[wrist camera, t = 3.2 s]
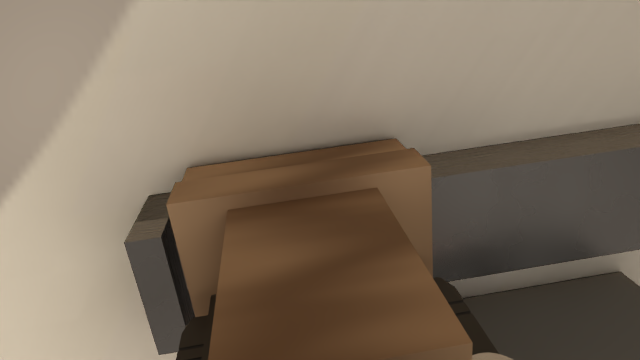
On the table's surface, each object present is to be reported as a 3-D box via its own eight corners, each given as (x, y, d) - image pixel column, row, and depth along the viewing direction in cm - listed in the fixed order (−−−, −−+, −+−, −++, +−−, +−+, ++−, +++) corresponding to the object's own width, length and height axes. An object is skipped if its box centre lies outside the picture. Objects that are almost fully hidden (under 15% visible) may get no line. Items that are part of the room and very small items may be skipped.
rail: (696, 115, 17) (786, 141, 14) (675, 211, 19) (753, 252, 16) (148, 195, 16) (124, 242, 13) (175, 293, 17) (159, 355, 14)
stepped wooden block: (395, 130, 16) (569, 304, 7) (402, 287, 18) (537, 562, 9) (185, 159, 15) (88, 388, 6) (222, 318, 18) (188, 638, 9)
